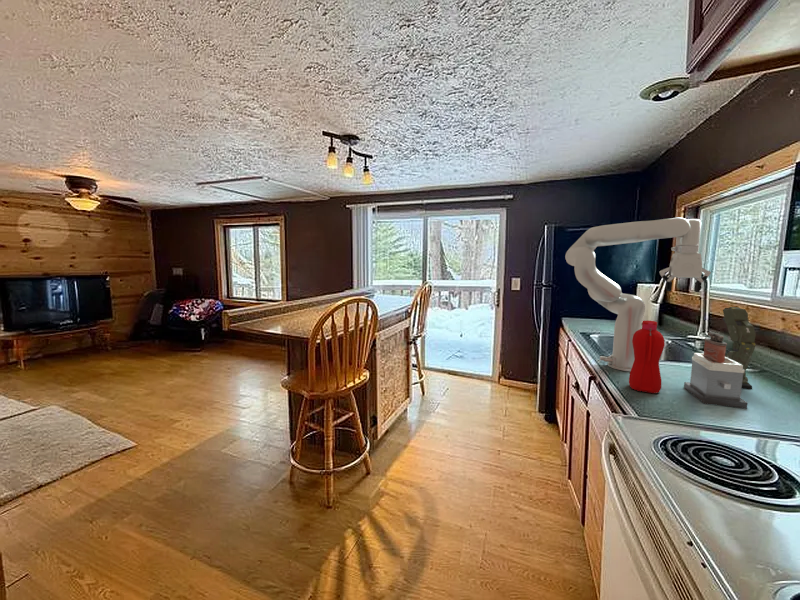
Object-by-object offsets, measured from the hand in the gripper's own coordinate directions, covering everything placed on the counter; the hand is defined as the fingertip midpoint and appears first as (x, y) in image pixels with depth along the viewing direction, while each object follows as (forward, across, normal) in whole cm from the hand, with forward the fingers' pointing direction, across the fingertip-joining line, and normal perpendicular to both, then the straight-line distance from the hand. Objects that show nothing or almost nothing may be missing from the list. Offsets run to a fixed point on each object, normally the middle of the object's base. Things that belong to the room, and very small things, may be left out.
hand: (682, 291), depth 149 cm
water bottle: (+34, -20, -33) cm, 51 cm away
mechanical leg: (+34, +14, -13) cm, 39 cm away
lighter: (+22, -1, -33) cm, 39 cm away
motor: (+33, 0, -33) cm, 47 cm away
